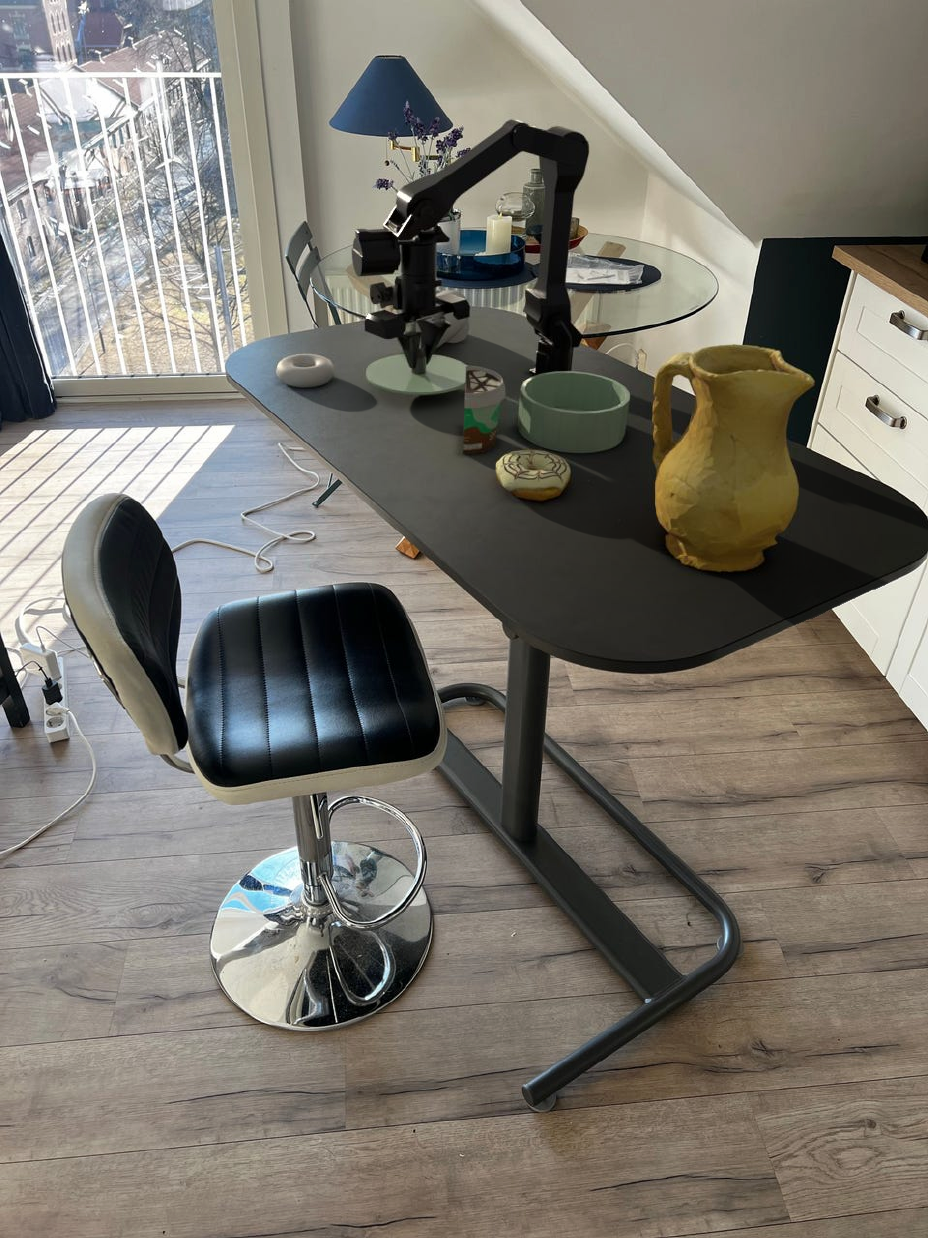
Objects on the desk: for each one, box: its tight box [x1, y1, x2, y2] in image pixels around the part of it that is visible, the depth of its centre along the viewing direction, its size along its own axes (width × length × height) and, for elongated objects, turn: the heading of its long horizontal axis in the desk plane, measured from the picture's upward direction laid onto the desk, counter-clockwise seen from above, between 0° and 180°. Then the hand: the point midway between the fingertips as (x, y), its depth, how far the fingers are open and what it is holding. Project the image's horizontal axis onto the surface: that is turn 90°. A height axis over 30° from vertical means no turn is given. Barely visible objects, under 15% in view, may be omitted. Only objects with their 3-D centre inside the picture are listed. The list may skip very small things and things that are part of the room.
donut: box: [276, 353, 335, 388], centre depth 160 cm, size 10×4×10 cm
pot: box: [517, 371, 631, 454], centre depth 145 cm, size 17×17×6 cm
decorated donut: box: [495, 449, 572, 502], centre depth 130 cm, size 10×11×4 cm
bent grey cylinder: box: [395, 288, 470, 349], centre depth 176 cm, size 18×10×20 cm
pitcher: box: [651, 343, 816, 573], centre depth 112 cm, size 17×19×25 cm
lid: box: [365, 344, 467, 396], centre depth 155 cm, size 18×18×6 cm
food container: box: [462, 364, 507, 455], centre depth 139 cm, size 12×6×10 cm, turn 179°
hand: (418, 366), depth 156 cm, fingers closed on lid, 3 cm apart
